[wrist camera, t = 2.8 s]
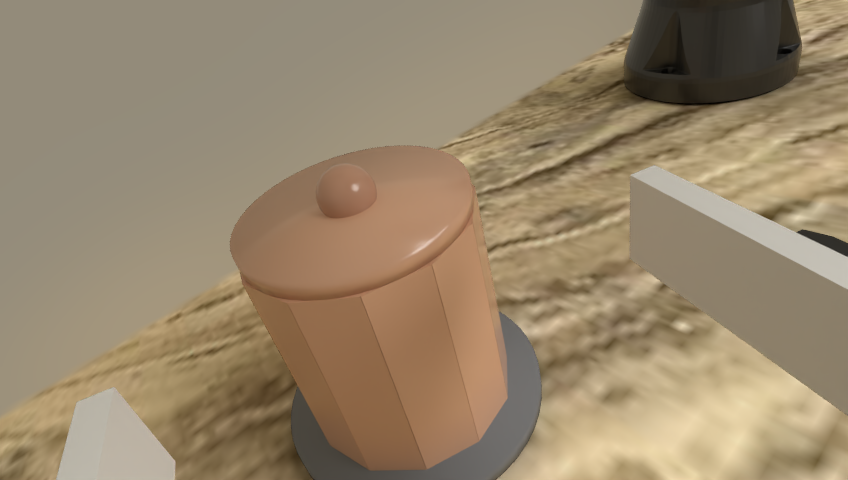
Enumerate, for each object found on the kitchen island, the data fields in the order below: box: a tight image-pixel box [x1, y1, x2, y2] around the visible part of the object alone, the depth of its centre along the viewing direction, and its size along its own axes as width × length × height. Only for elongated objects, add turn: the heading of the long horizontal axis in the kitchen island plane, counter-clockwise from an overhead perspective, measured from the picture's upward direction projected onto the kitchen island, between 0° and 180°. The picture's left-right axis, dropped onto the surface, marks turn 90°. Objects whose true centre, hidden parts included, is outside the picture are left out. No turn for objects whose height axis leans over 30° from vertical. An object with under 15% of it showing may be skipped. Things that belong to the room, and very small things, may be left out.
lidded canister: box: [230, 146, 508, 471], centre depth 23 cm, size 10×10×13 cm
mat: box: [291, 311, 542, 480], centre depth 27 cm, size 13×13×1 cm
